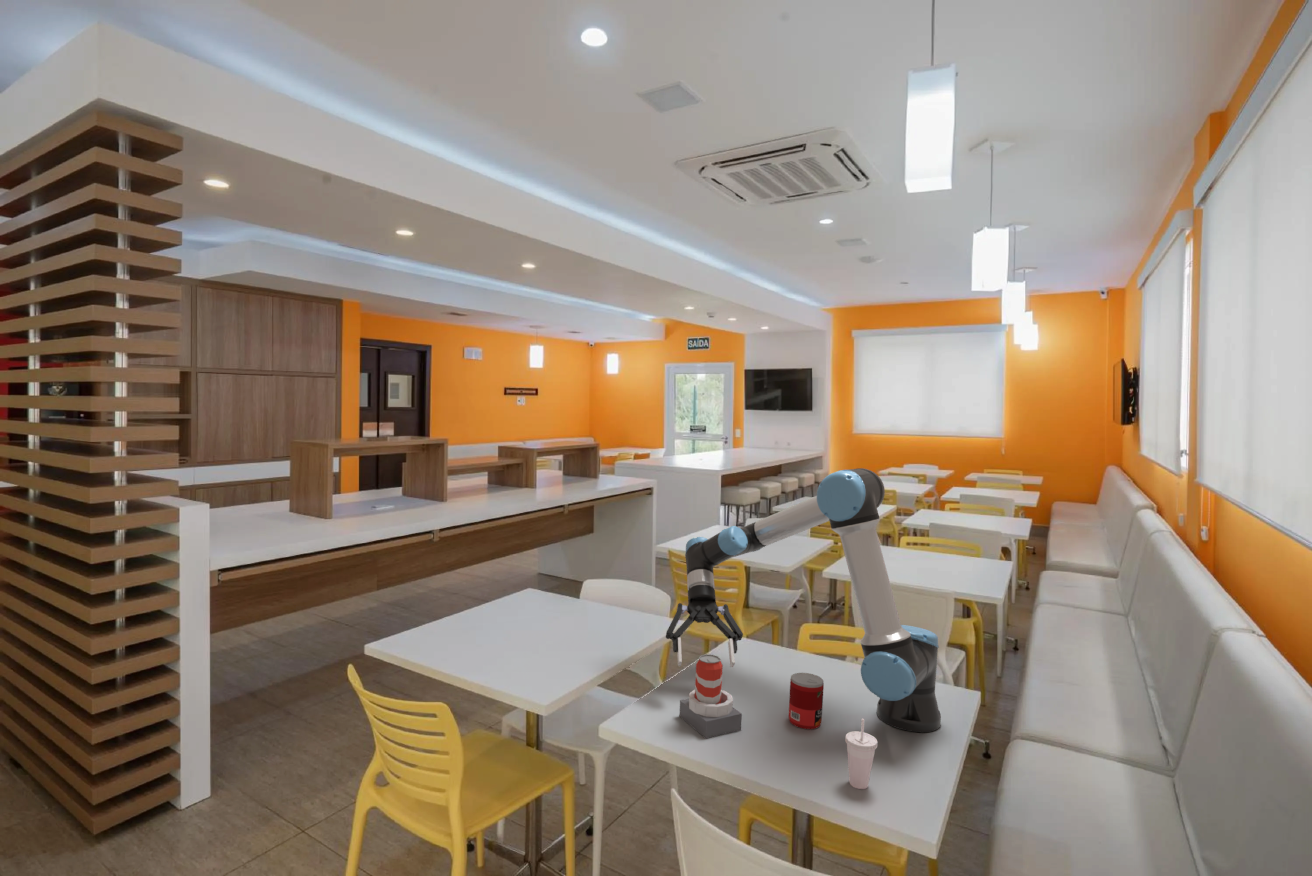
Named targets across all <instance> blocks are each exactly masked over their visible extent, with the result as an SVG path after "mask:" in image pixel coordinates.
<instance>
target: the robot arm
mask: <svg viewBox="0 0 1312 876" xmlns="http://www.w3.org/2000/svg"><path fill="white" fill-rule="evenodd" d="M885 492H886V491H885V485H884V483H883V480H882V479H881V478H880V476H879V475H878V474H877V473H875V472H874V471H872V470H870V469H867V468H864V467H863V468H862V467H861V468H858V467H857V468H852V469H842V470H837V471H833V472H832V473H830V474H828V475H826V476H825V477H824V478H823V479H822V480H821V481H820V483H819V485H818V487H817V490H816V495H815V496H813V497H811V498H807V499H805V500H803V501H800V502H799V503H796V504H794V505H791V506H789V507H786V508H785V509H783V510H780V511H779V512H778V511H777V512H775V513H773V514H771V515H769V516H766V517H764V518H762V519H759V520H757V521H755V522H752V523H750V524H747V525H744V526H742V527H738V526H736V525H731V526H729V527H728V528H727V527H726V528H724V529H722V530H721V531H720V532H719V533H716V534H715V535H713V536H712V537H710V538H706V537H704V536H696V537H693V538H690V539H689V540H688V541H686V544H685V554H684V556H685V557H684V558H685V563H686V565H685V566H686V581H687V583H686V584H687V601H688V603H687V604H688V605H683V603H680V602H679V603H678V604H677V608H676V613H675V614H674V616H673V619H672V620H671V622H670V624H669V625H668V626H669V627H668V628H667V630H666V633H665V638H666V639H667V640H671V641H672V650H673V653H677V656H676V657H677V658H676V659H677V667H682V662H683V659H682V658H683V656H682V653H683V652H682V638H681V636H682V635H683V634H684V633H685V632H686V630H688V628H689V627H690V626H691V625H692V624H693V623H694V622H696V623H698V624H699V623H701V624H702V623H705V624H709V623H710V622H711V624H712V625H714V626H715V627H716V628H717V629H718V630H719V631H720V632H721V633H722V634H723V635H724V636H725V637H726V638H727V639H728V642H727V645H728V647H727V648H728V657H729V667H730V668H734V666H735V663H736V660H735V654H737V652H738V641H741V640H742V638H743V637H744V633H743V632H742V630H741V628H740V627H739V625H738V623H737V622H736V620H735V619H734V617H733V615H732V614H731V613H730V609H729V605H728V604H723V605H722V606H718V605H717V598H716V590H715V588H716V587H715V577H714V575H715V574H714V567H717V566H718V565H720V564H721V563H724V562H725V561H728V560H730V559H732V558H735V557H738V556H741V555H745V554H748V553H753V552H754V553H755V552H757V551H760V550H761V549H764V548H766V547H767V546H769V545H771V544H775V543H777V542H780V541H783V540H785V539H787V538H790V537H792V536H794V535H797V534H800V533H802V532H804V531H807V530H810V529H811V528H812V529H813V528H814V527H817V526H821V525H822V524H825V523H828V522H829V526H830V529H831V531H833V532H834V533H836V534H838V536H839V537H840V541H841V544H842V549H843V553H844V557H845V560H846V565H847V568H848V572H849V577H850V580H851V584H852V589H853V592H854V596H855V600H856V604H857V607H858V611H859V616H860V619H861V623H862V628H863V631H864V635H863V637H862V639H860V644H861V648H862V649H861V650H862V653H863V657H864V658H863V660H862V662H861V665H860V676H861V679H862V682H863V683H864V685H865V687H866V688H867V690H868V691H869V692H871V693H872V694H873V695H875V697H878V698H879V699H878V701H877V706H876V714H877V717H878V718H879V719H880V720H881V721H882V722H884V723H886V724H888V725H889V726H892V727H894V728H897V729H900V730H902V731H903V730H904V731H908V732H913V733H914V732H915V733H928V732H934V731H936V730H938V729H939V728H940V727H941V720H942V715H941V712H940V710H939V704H938V700H937V697H936V684H937V683H936V680H937V664H938V652H939V651H938V650H939V648H940V647H939V637H938V635H937V634H936V633H935V632H933V631H931V630H929V629H925V628H922V627H918V626H912V625H907V624H906V625H905V624H902V623H901V620H900V616H899V615H900V614H899V613H898V608H897V605H896V601H895V597H894V592H893V588H892V585H891V582H890V578H889V574H888V571H887V567H886V564H885V559H884V555H883V551H882V548H881V544H880V541H879V537H878V533H877V529H876V528H877V525H878V524H879V522H880V521H881V520H880V519H881V517H880V514H879V512H878V511H879V510H878V508H879V507H880V506H881V504H882V503H883V501H884V498H885V495H886V494H885ZM685 612H687V613H688V617H687V618H686V620H684V622H683V623H682V624H681V625H679V627H678V628H677V629H676V627H677V624H678V623H679V621H680V619H681V615H683V614H684V613H685ZM718 612H719V613H720V615H721V616H723V619H724V620H725V622H726V623H727V624H726V623H725V622H724V621H723V620H722V619H721V618H720V616H719V615H718V614H717V613H718ZM675 629H676V631H675V632H674V630H675Z"/></svg>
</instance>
